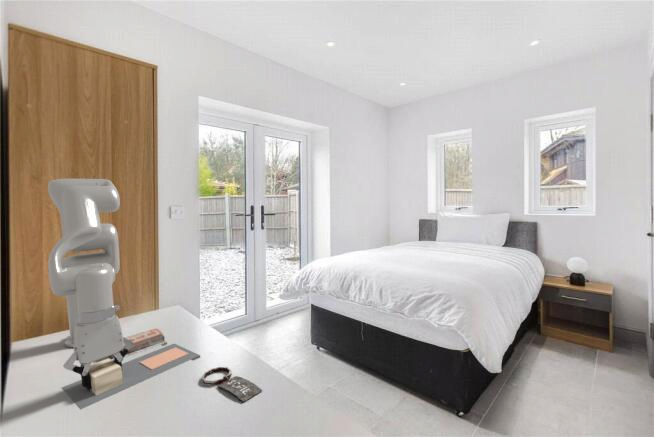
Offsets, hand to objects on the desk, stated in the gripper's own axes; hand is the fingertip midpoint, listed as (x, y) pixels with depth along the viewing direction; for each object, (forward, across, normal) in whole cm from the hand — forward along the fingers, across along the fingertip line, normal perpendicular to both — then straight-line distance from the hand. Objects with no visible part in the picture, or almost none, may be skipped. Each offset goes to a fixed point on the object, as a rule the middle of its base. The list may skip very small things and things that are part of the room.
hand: (103, 381), depth 83 cm
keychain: (+2, -19, +29) cm, 34 cm away
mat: (+1, -8, 0) cm, 8 cm away
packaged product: (+2, -14, -17) cm, 22 cm away
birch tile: (+1, 0, 0) cm, 1 cm away
